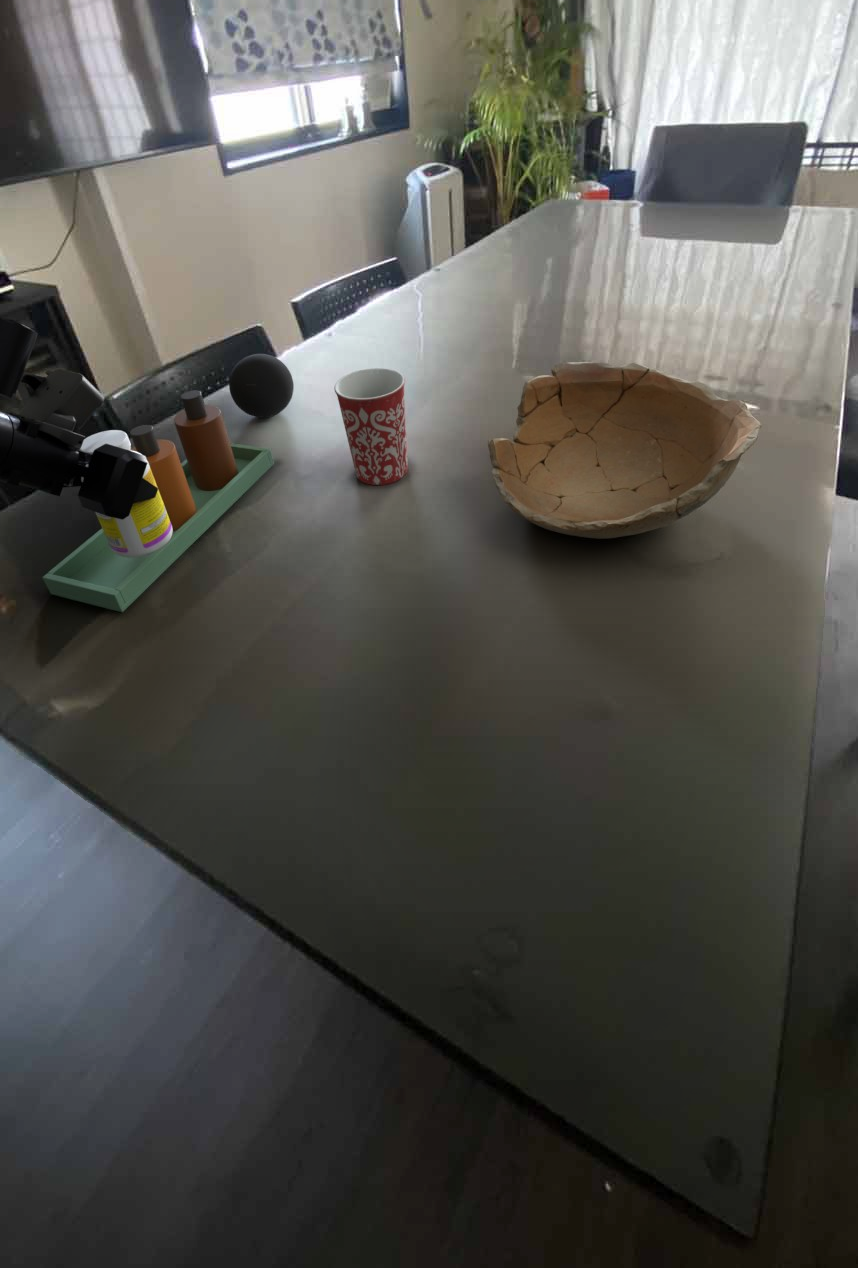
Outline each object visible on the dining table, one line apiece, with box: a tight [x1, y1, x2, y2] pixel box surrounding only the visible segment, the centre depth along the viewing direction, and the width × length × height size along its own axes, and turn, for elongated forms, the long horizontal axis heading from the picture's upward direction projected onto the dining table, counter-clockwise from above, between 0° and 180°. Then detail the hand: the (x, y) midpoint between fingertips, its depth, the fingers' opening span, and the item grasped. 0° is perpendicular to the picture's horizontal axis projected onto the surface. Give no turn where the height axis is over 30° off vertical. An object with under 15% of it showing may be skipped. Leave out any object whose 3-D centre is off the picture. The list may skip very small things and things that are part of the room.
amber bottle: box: [129, 424, 197, 531], centre depth 84 cm, size 6×6×13 cm
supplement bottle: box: [78, 429, 173, 558], centre depth 72 cm, size 7×7×13 cm
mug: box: [333, 367, 409, 486], centre depth 92 cm, size 13×9×14 cm
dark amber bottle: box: [173, 389, 238, 491], centre depth 91 cm, size 6×6×13 cm
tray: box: [42, 442, 275, 613], centre depth 88 cm, size 32×11×3 cm, turn 159°
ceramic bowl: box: [487, 361, 763, 540], centre depth 82 cm, size 30×27×15 cm
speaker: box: [228, 353, 295, 418], centre depth 109 cm, size 10×10×10 cm
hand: (133, 485), depth 73 cm, fingers closed on supplement bottle, 6 cm apart
